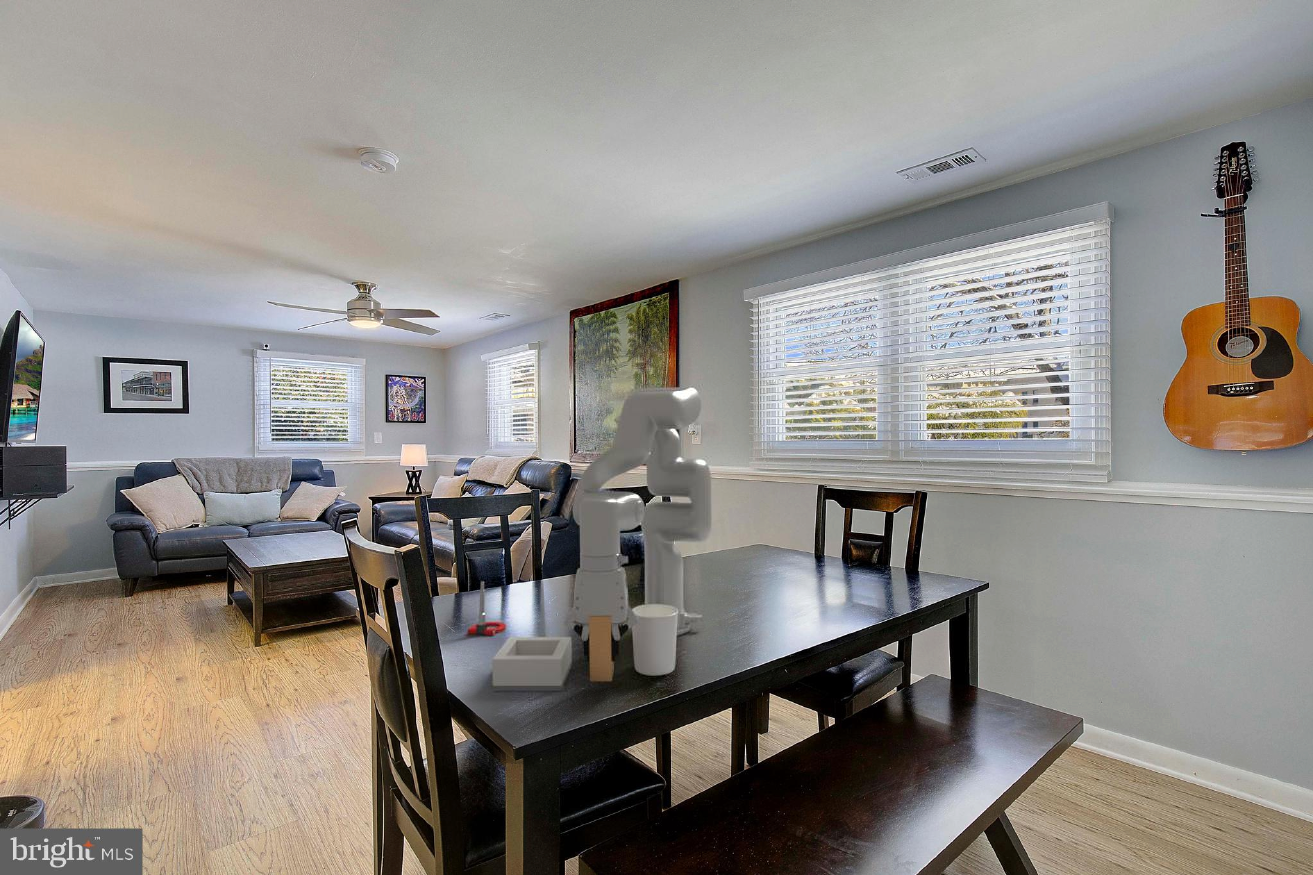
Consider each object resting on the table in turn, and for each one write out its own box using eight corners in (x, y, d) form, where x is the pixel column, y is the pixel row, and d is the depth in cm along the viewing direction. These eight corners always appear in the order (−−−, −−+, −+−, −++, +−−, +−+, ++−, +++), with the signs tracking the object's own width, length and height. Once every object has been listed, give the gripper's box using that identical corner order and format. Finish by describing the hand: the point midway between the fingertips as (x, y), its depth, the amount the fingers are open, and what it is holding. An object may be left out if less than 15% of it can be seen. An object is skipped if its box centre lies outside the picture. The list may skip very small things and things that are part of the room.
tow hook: (480, 625, 160) (463, 635, 151) (481, 575, 161) (464, 581, 152) (511, 627, 159) (496, 636, 150) (512, 576, 160) (497, 582, 151)
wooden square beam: (613, 670, 120) (612, 608, 120) (611, 681, 115) (610, 616, 115) (593, 670, 120) (592, 608, 120) (590, 681, 115) (589, 616, 115)
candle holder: (630, 660, 133) (629, 604, 133) (675, 658, 134) (675, 603, 134) (632, 678, 123) (631, 617, 123) (681, 676, 124) (680, 616, 124)
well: (571, 665, 130) (571, 637, 130) (561, 690, 117) (561, 659, 117) (509, 665, 131) (509, 637, 131) (492, 690, 118) (492, 659, 118)
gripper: (645, 557, 121) (646, 651, 121) (559, 558, 121) (560, 652, 121) (644, 566, 113) (645, 666, 114) (552, 567, 113) (554, 667, 114)
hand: (601, 658), depth 117 cm, fingers closed on wooden square beam, 4 cm apart
